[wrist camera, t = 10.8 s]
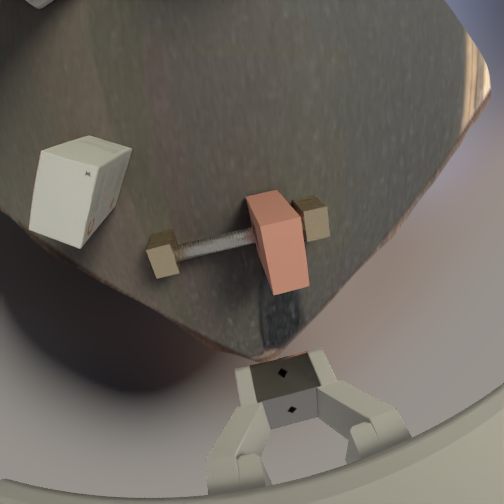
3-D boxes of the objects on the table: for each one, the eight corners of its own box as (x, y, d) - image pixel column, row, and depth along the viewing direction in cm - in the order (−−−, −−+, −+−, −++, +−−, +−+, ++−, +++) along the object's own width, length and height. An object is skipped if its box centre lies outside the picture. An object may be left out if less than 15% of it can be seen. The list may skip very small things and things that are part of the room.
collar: (257, 252, 42) (273, 295, 33) (245, 196, 39) (260, 226, 29) (286, 245, 42) (309, 285, 33) (276, 189, 39) (300, 217, 29)
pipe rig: (160, 260, 41) (156, 278, 37) (151, 234, 39) (145, 250, 35) (317, 222, 42) (330, 236, 38) (313, 195, 40) (327, 206, 36)
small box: (89, 134, 32) (40, 148, 21) (133, 148, 34) (100, 166, 23) (73, 193, 35) (27, 231, 24) (115, 207, 37) (82, 251, 25)
